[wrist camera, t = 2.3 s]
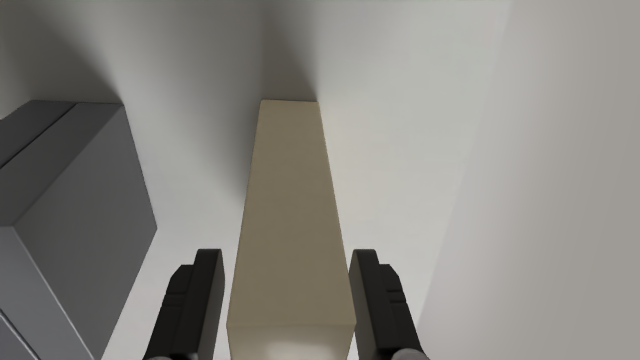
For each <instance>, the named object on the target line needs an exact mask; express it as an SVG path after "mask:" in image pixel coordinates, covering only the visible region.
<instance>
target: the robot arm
mask: <svg viewBox="0 0 640 360" xmlns="http://www.w3.org/2000/svg"><path fill="white" fill-rule="evenodd" d="M348 275H349V281H350V287H351V293H352V298H353V304H354V310H355V316H356V321H357V322H356V326H355V330H354V331H355V337H356V343H357V349H358V355H359V360H430V359H429V358H428V357H427V356H426V354H425V353H424V351H423V350H422V348H421V345H420V342H419V339H418V336H417V333H416V330H415V326H414V323H413V320H412V317H411V314H410V311H409V307H408V304H407V303H406V298H405V295H404V292H403V288H402V285H401V282H400V279H399V276H398V275H397V273H396V272H395V271H394V270H393V268H392V267H391V266H390V265H389V264H379V261H378V257H377V254H376V251H375V250H374V249H354V250H353V254H352V259H351V264H350V269H349V273H348ZM224 289H225V274H224V266H223V258H222V251H221V249H198V251H197V254H196V257H195V261H194V264H193V265H181V266H180V267H179V268H178V269H177V271H176V272H175V273H174V274H173V275H172V277H171V278H170V281H169V284H168V287H167V290H166V295H165V296H164V299H163V302H162V307H161V308H160V311H159V314H158V317H157V320H156V323H155V326H154V329H153V332H152V335H151V338H150V341H149V344H148V347H147V350H146V353H145V355H144V357H143V359H142V360H213V354H214V348H215V342H216V337H217V331H218V325H219V319H220V314H221V308H222V302H223V296H224Z"/></svg>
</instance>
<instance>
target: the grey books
mask: <svg viewBox="0 0 640 360" xmlns="http://www.w3.org/2000/svg"><path fill="white" fill-rule="evenodd" d="M156 231H157V226H156V223H155V219H154V215H153V212H152V208H151V204H150V201H149V197H148V193H147V189H146V186H145V182H144V178H143V175H142V171H141V167H140V164H139V160H138V156H137V153H136V149H135V145H134V142H133V138H132V134H131V131H130V127H129V123H128V120H127V116H126V112H125V109H124V105H122V104H103V103H78V104H77V105H76V104H75V103H74V102H53V101H29V102H27V103H26V104H24V105H23V106H21V107H20V108H18V109H17V110H15V111H14V112H12V113H11V114H9V115H8V116H6V117H5V118H3V119H2V120H1V121H0V360H101V358H102V356H103V354H104V351H105V349H106V347H107V344H108V342H109V340H110V337H111V335H112V333H113V330H114V328H115V326H116V324H117V321H118V319H119V317H120V314H121V312H122V310H123V307H124V305H125V303H126V300H127V298H128V296H129V293H130V291H131V289H132V286H133V284H134V282H135V279H136V277H137V275H138V272H139V270H140V268H141V265H142V263H143V261H144V258H145V256H146V254H147V252H148V249H149V247H150V245H151V242H152V240H153V238H154V235H155V233H156Z"/></svg>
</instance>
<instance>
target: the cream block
mask: <svg viewBox="0 0 640 360" xmlns="http://www.w3.org/2000/svg"><path fill="white" fill-rule="evenodd" d="M356 322H357V321H356V316H355V310H354V304H353V298H352V293H351V287H350V281H349V275H348V270H347V264H346V258H345V252H344V246H343V241H342V235H341V229H340V223H339V218H338V212H337V206H336V200H335V194H334V189H333V183H332V177H331V171H330V166H329V160H328V154H327V148H326V143H325V137H324V131H323V125H322V119H321V114H320V108H319V103H318V102H305V101H284V100H263V99H262V100H261V103H260V109H259V116H258V122H257V129H256V135H255V141H254V148H253V154H252V161H251V167H250V174H249V180H248V187H247V193H246V200H245V206H244V213H243V219H242V225H241V232H240V238H239V245H238V251H237V258H236V264H235V271H234V277H233V284H232V290H231V297H230V303H229V310H228V316H227V322H226V327H227V335H228V342H229V349H230V356H231V360H347V356H348V353H349V349H350V345H351V341H352V337H353V333H354V330H355V326H356Z"/></svg>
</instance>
